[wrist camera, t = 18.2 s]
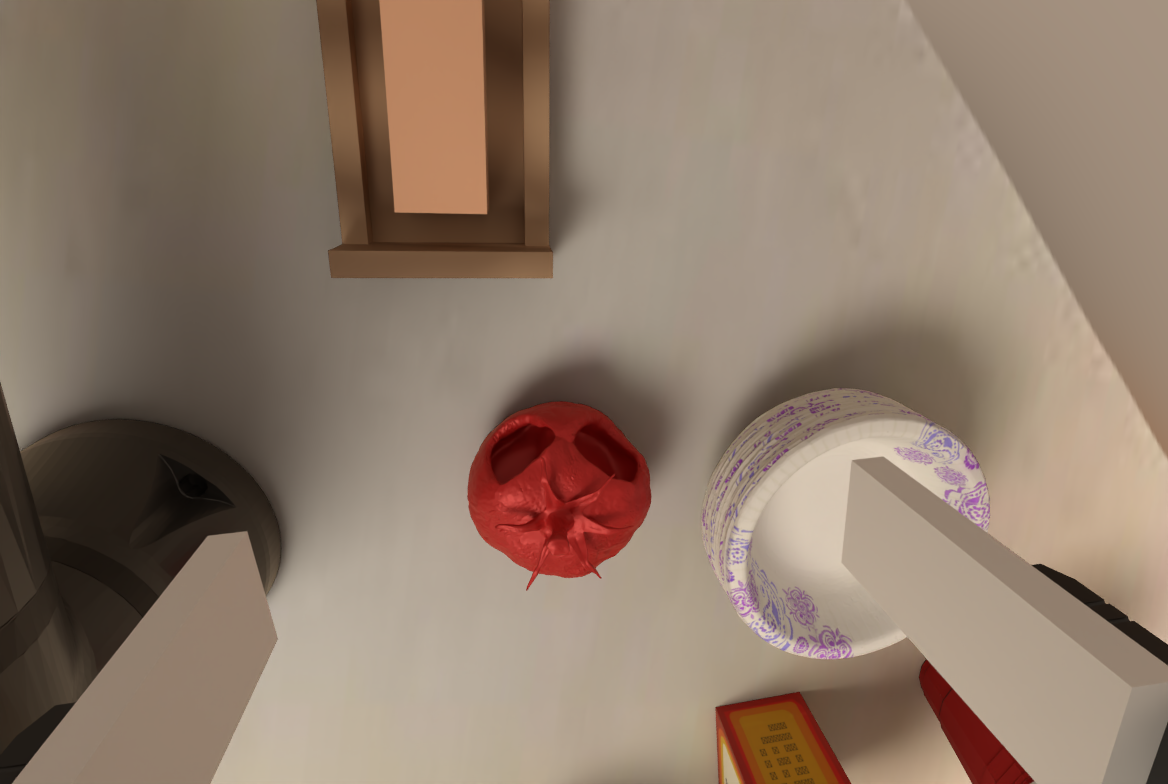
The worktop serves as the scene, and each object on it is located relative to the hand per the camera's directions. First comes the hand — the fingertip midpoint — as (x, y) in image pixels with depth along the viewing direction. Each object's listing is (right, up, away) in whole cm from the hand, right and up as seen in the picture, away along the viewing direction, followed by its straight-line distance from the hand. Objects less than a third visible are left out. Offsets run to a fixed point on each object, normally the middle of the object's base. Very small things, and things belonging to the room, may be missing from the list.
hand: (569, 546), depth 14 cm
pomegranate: (-2, -1, +24) cm, 25 cm away
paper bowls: (+14, -2, +27) cm, 31 cm away
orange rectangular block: (-6, +19, +15) cm, 25 cm away
